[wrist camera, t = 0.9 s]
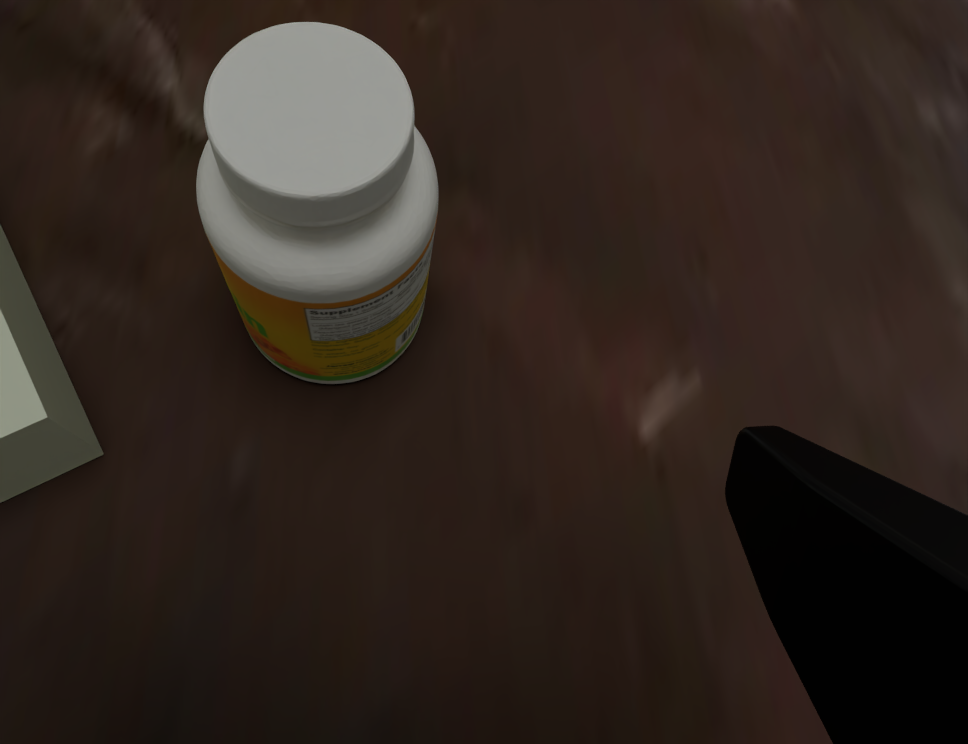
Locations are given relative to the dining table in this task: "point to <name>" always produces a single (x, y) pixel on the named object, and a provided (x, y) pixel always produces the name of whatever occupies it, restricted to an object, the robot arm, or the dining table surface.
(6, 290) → the plinth
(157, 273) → the dining table surface
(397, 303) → the supplement bottle
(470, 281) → the dining table surface
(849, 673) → the robot arm
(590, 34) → the dining table surface
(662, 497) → the dining table surface
